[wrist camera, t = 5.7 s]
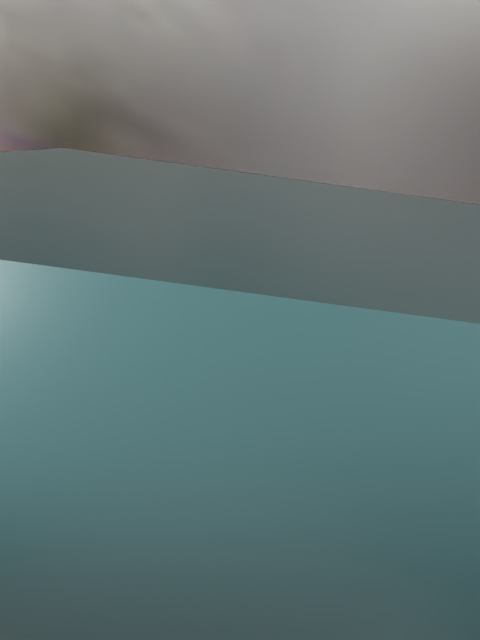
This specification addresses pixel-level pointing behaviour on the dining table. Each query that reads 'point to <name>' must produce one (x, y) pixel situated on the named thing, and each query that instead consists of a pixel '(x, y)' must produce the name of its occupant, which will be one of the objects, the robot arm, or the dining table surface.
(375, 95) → the dining table surface
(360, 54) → the dining table surface
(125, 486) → the teal cube
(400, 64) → the dining table surface
